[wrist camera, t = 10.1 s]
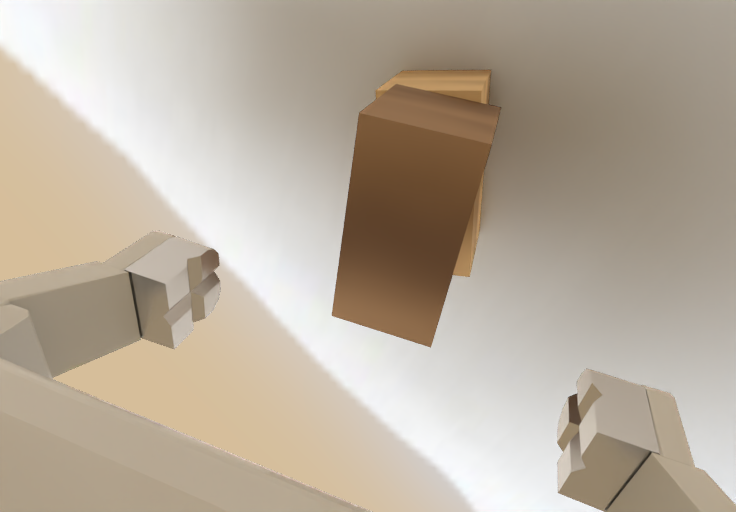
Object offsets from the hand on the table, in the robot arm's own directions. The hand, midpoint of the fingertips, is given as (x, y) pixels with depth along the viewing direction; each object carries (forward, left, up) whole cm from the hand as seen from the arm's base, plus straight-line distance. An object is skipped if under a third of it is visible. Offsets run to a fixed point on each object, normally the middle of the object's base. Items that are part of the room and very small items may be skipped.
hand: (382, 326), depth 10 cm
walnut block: (+1, 0, -8) cm, 8 cm away
